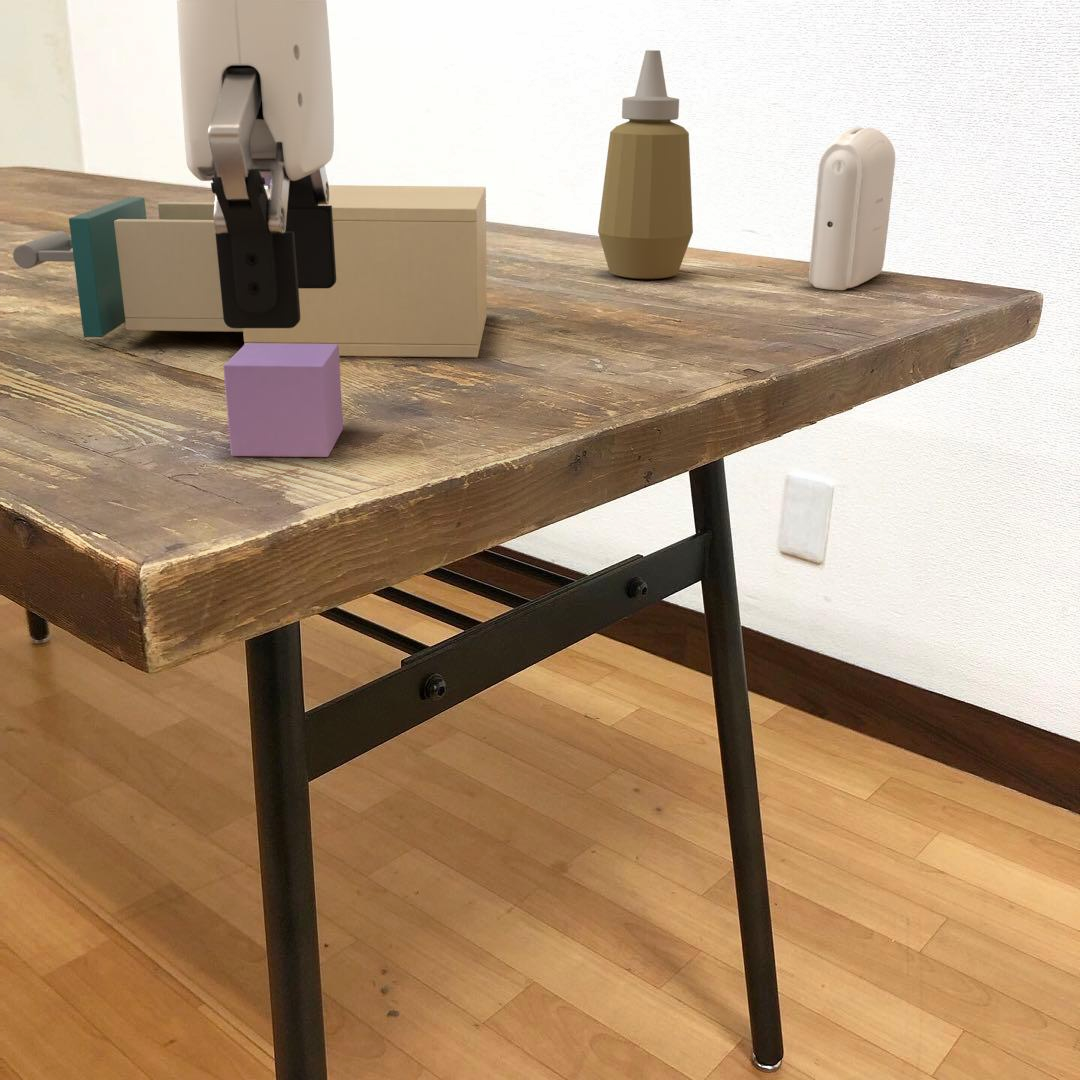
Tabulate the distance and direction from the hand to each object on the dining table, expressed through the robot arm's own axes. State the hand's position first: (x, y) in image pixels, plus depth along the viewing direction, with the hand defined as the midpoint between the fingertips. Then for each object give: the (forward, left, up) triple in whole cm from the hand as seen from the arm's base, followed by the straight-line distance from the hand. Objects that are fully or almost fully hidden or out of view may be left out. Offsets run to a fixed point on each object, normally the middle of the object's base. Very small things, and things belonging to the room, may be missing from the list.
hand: (285, 305), depth 58 cm
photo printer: (+38, +48, -7) cm, 61 cm away
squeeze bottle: (+21, +50, -7) cm, 54 cm away
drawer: (-12, +25, -6) cm, 28 cm away
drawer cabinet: (+1, +25, -7) cm, 26 cm away
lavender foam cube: (0, 0, -7) cm, 7 cm away
